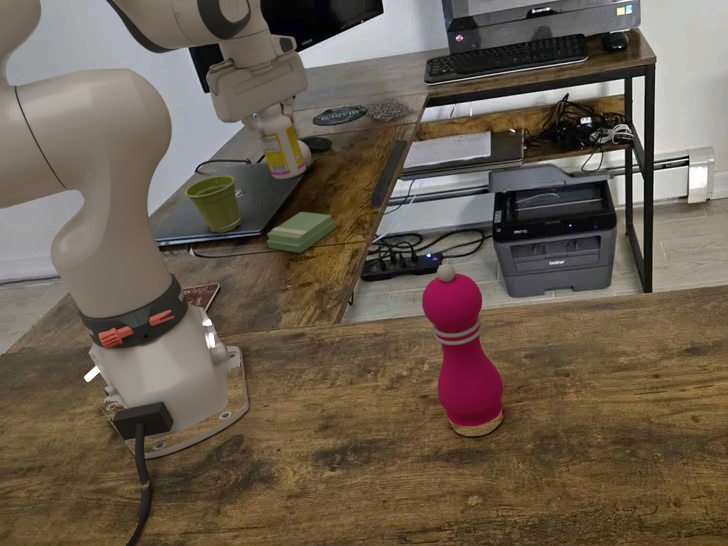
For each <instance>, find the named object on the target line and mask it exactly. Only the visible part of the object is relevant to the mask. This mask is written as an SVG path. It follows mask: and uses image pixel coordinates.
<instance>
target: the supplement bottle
mask: <svg viewBox="0 0 728 546" xmlns="http://www.w3.org/2000/svg"><path fill="white" fill-rule="evenodd" d="M255 116H256V117H257V118H258V122H257V123H256V126H257V127H258V128H263V130H264V134H265V137H264V138H262V139H261V140H258V141H259V143H260V146H261V150H262V152H263V155H264V157H265V160H266V163H267V165H268V168H269V171H270V174H271V176H272V178H274V179H277V180H287V179H291V178H295V177H298V176H300V175H301V174H303V173H304V172H305V171H306V170H307V169H306V165H305V162H304V159H303V156H302V153H301V150H300V147H299V144H298V140H299V139H298V138H297V135H296V131H295V128H294V126H293V124H292V122H291V120H290V119H289V118H288V117H287V116H284V115H283V113H282V106H281V102H279V103H277V104H275V105H272V106H270V107H268V108H266V109H264V110H262V111H259V112H257V113H255ZM305 169H306V170H305Z"/></svg>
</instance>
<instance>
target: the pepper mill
mask: <svg viewBox="0 0 728 546" xmlns="http://www.w3.org/2000/svg"><path fill="white" fill-rule="evenodd" d="M436 275H437V276H436V277H435V278H433V279H432V280H430V282H428V284H427V285H426V287H425V289H424V290H423V293H422V297H421V305H422V311H423V313H424V315H425V317H426V319H427V320H428V321H429V322H430V323H432V324H431V328H432V331H433V337H434V338H435V340H436V341H437V342H439V343H440V344H441V348H442V352H443V353H442V354H443V355H442V362H441V363H442V364H441V367H440V371H439V374H438V379H437V398H438V401H439V403H440V405H441V407H442V408H443V409H444V410H445V411H446V416H447V419H448V418H449V419H450V420H451V422H453V423H455V424H457V425H462V426H478V425H481V424H484V423H486V422H489V421H491V420H493V419H494V418H496V417H497V416H498V415H499V413H500V411H501V408H503V404H502V401H501V400H502V397H503V395H504V383H503V380H502V376H501V374H500V372H499V370H498V368H497V367H496V365H494V363H493V362H492V361H491V360H490V358H489V357H488V356H487V355H486V354H485V352H484V350H483V348H482V345H481V340H480V334H481V333H482V331H483V324H482V322H481V321H482V318H481V315H480V313H481V311H482V308H483V295H482V292H481V289H480V287H479V285H478V284H477V283H476V281H474V280H473V279H472V278H471V277H469V276H467V275H466V274H462V273H459V272H458V273H457V272H456V269H455V267H454V266H453V265H452V264H450V263H442V264H440V265H439V266H438V268H437V271H436ZM502 414H503V417H504V411H503V412H502ZM501 418H502V417H501Z"/></svg>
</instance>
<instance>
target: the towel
mask: <svg viewBox="0 0 728 546" xmlns="http://www.w3.org/2000/svg"><path fill="white" fill-rule="evenodd" d="M335 229H337V225H336V221H335V220H334V219H333V216H332V215H331V214H324V213H315V212H308V211H307V212H306V211H300V212H298V213H297V214H295V215H293V216H291V218H289V219H287V220H286V221H284V222H283V223H281V224H280V225H278V226H275V227H274V228H272V229H271V231H270V232H267V237H268V240H266V244H267V247H268V249H274V250H280V251H284V252H285V251H286V252H291V253H299V254H302V253H303V252H305V251H307V249H309V248H310V247H312V246H313V245H315V244H316V243H317V242H318V241H320V240H321V239H323V238H324V237H325V236H327V235H328V234H330V233H331V232H332V231H334V230H335Z"/></svg>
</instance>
